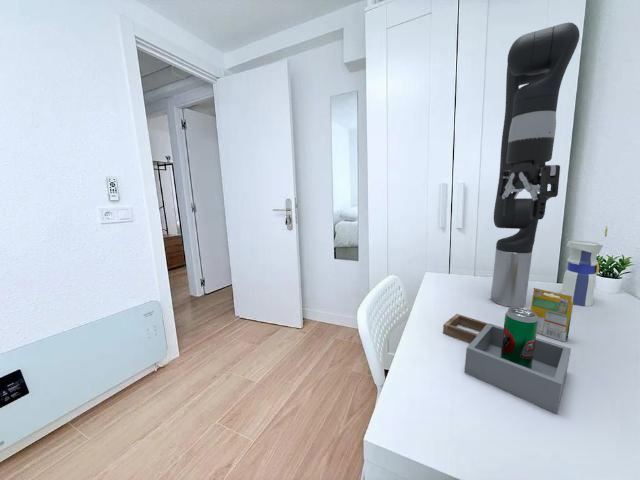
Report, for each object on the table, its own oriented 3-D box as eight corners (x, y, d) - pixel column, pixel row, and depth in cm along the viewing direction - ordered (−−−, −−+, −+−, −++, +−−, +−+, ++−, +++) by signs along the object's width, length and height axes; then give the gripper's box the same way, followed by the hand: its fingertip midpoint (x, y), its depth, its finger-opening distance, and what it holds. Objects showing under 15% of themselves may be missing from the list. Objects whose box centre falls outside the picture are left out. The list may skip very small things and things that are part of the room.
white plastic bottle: (589, 298, 87) (602, 223, 82) (598, 308, 80) (613, 226, 75) (556, 294, 91) (567, 222, 87) (561, 303, 84) (574, 225, 79)
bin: (486, 344, 62) (488, 323, 61) (566, 373, 52) (570, 348, 51) (464, 372, 53) (466, 347, 52) (556, 414, 43) (561, 384, 42)
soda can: (524, 380, 49) (533, 320, 47) (495, 365, 53) (501, 310, 51) (535, 369, 52) (543, 313, 50) (506, 356, 56) (512, 303, 54)
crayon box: (568, 338, 64) (575, 293, 62) (565, 342, 63) (572, 296, 61) (531, 326, 70) (536, 285, 68) (527, 330, 68) (533, 287, 66)
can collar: (455, 322, 73) (456, 313, 73) (491, 333, 67) (492, 324, 67) (442, 333, 68) (443, 324, 67) (479, 347, 61) (480, 337, 61)
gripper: (581, 130, 47) (567, 220, 50) (524, 144, 61) (516, 214, 64) (538, 132, 48) (527, 221, 51) (491, 145, 62) (484, 214, 65)
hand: (521, 217), depth 57 cm, fingers open, 8 cm apart
